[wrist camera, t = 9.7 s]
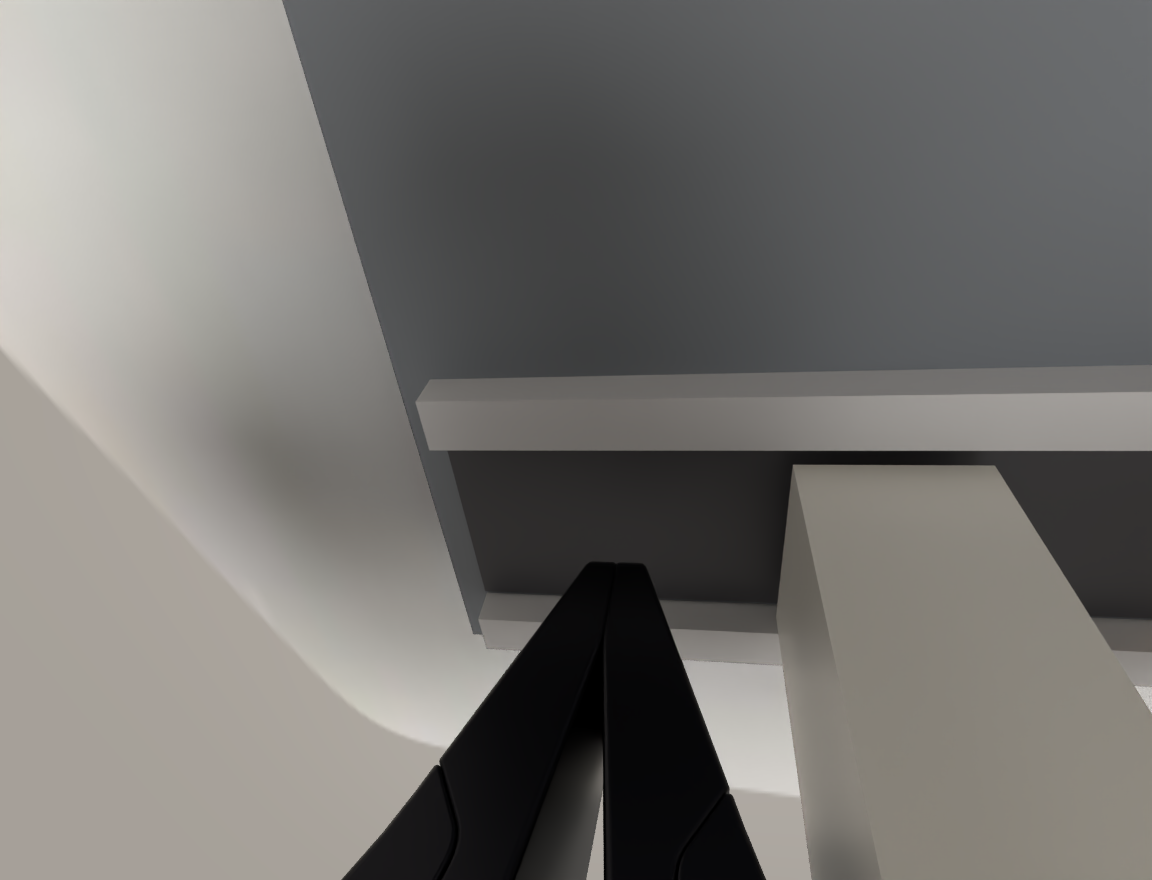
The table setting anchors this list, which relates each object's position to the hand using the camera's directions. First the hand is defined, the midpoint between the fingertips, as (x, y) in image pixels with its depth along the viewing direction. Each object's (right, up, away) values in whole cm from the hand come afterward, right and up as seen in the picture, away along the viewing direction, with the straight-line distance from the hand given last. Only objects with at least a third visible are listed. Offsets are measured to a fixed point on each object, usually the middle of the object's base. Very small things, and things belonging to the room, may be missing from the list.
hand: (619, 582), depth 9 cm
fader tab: (+4, 0, 0) cm, 4 cm away
